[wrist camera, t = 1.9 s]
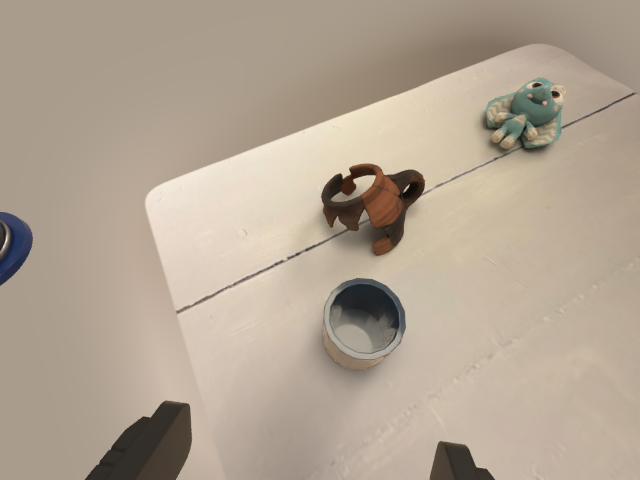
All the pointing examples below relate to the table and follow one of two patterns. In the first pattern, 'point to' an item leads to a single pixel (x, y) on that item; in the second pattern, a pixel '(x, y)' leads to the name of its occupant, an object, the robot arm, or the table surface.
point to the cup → (362, 323)
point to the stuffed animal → (528, 114)
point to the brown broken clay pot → (374, 201)
